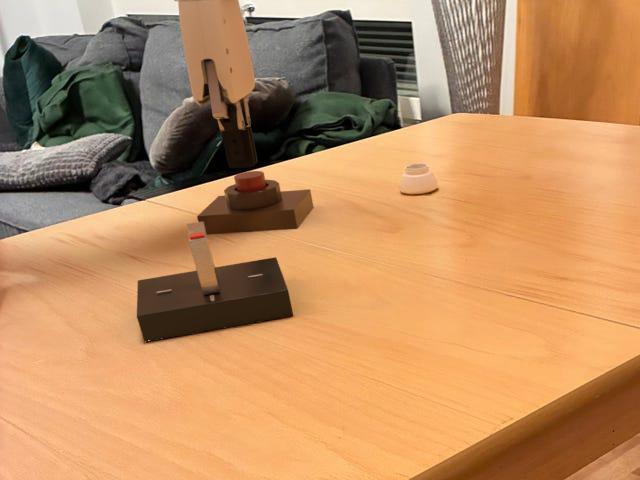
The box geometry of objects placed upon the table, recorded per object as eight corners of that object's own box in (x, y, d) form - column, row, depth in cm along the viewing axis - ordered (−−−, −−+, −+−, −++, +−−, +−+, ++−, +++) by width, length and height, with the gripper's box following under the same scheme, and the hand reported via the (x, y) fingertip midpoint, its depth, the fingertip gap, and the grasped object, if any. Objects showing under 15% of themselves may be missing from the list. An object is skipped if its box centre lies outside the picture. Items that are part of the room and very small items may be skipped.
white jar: (445, 186, 125) (413, 185, 127) (443, 161, 123) (410, 160, 125) (425, 197, 122) (392, 195, 124) (422, 172, 120) (389, 170, 122)
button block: (201, 235, 117) (192, 200, 114) (222, 214, 124) (214, 180, 121) (297, 228, 116) (290, 193, 113) (313, 207, 123) (307, 173, 120)
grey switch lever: (200, 276, 96) (186, 221, 93) (216, 273, 96) (202, 218, 93) (203, 295, 91) (188, 237, 88) (220, 292, 92) (205, 235, 88)
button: (233, 195, 116) (230, 179, 115) (242, 187, 119) (238, 172, 118) (262, 193, 116) (259, 177, 115) (270, 185, 119) (267, 169, 118)
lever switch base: (144, 342, 90) (135, 314, 88) (145, 305, 98) (137, 278, 97) (293, 316, 92) (287, 288, 90) (281, 281, 101) (275, 255, 99)
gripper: (194, -22, 111) (231, 153, 122) (148, -10, 99) (193, 183, 110) (257, -27, 110) (288, 150, 121) (219, -15, 98) (257, 180, 109)
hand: (243, 165), depth 116 cm, fingers closed
